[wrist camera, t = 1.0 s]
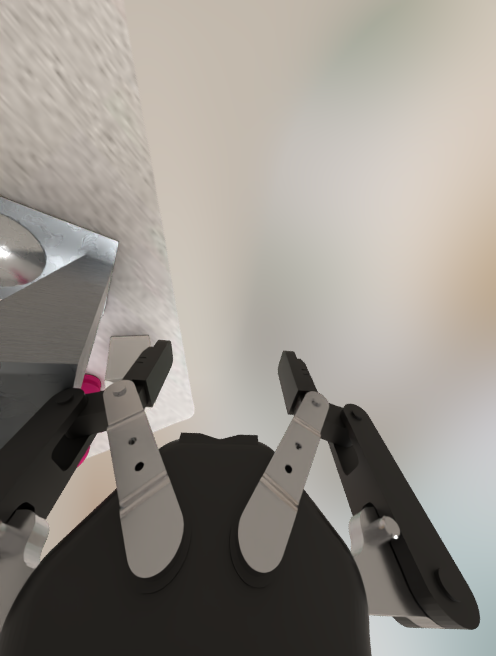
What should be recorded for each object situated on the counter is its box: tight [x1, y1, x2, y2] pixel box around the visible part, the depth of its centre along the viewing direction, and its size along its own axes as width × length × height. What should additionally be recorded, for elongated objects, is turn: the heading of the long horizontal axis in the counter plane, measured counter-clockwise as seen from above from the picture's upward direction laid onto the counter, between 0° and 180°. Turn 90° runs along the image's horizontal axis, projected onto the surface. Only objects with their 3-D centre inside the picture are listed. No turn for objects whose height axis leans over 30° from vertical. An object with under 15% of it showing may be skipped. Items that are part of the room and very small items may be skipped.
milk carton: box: [105, 336, 156, 413], centre depth 34 cm, size 7×7×19 cm
